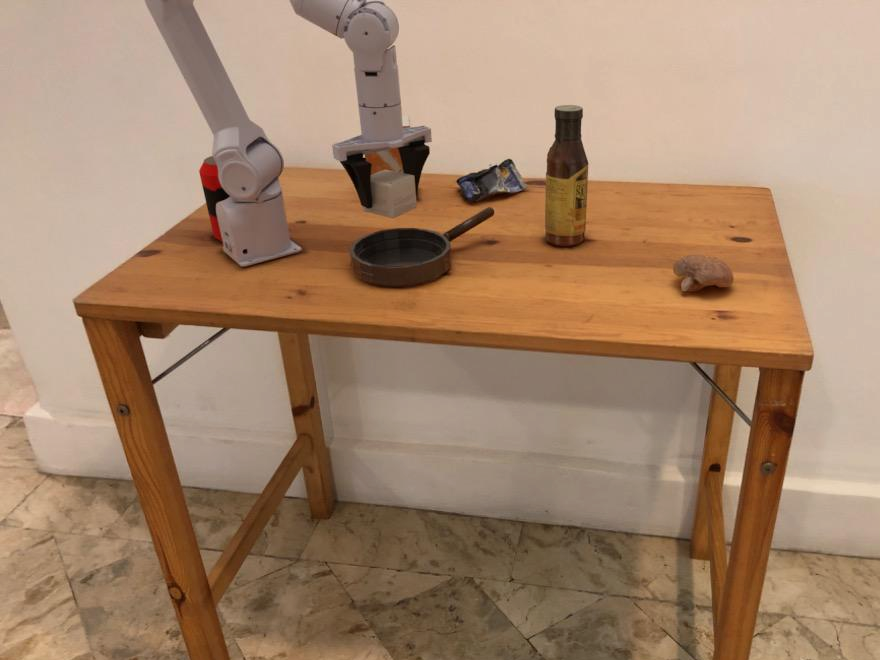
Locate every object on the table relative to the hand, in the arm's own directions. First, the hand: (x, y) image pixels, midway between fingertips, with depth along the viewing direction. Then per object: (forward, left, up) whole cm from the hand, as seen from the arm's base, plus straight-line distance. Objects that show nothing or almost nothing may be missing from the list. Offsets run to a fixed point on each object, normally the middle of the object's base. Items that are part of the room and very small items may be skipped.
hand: (389, 200), depth 113 cm
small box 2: (0, 0, -2) cm, 2 cm away
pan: (-1, -4, -8) cm, 10 cm away
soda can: (-15, +23, -9) cm, 29 cm away
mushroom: (+28, -35, -9) cm, 46 cm away
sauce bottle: (+24, -11, -9) cm, 28 cm away
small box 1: (+13, +23, -9) cm, 27 cm away
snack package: (+27, +13, -9) cm, 31 cm away
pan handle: (+10, -5, -7) cm, 13 cm away
